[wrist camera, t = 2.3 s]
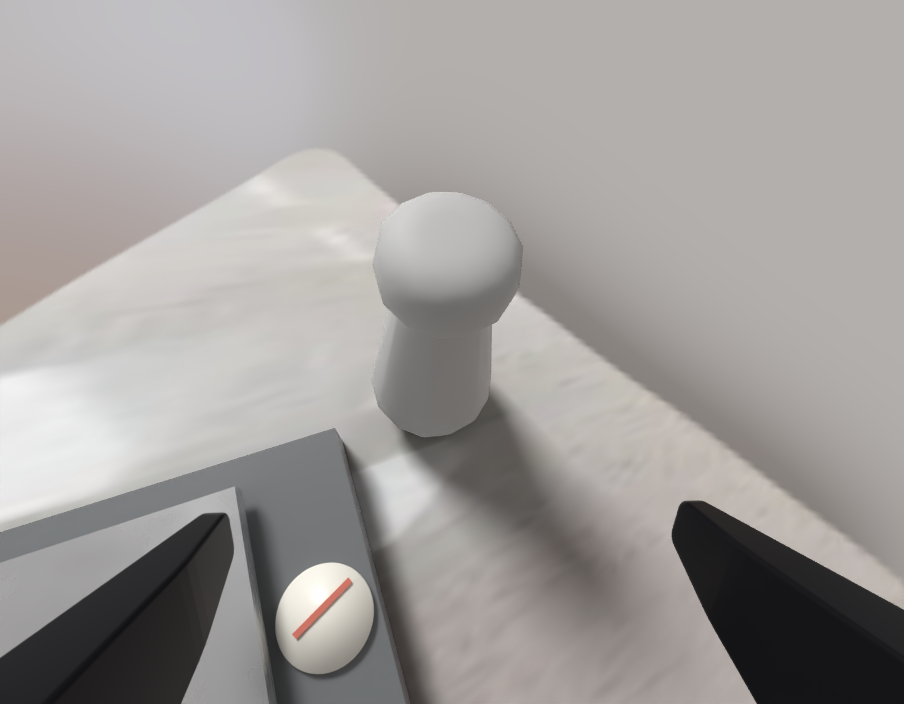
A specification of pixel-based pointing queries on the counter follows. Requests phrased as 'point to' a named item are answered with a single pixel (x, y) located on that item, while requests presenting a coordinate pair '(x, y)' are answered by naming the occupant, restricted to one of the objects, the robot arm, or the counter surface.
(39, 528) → the scale
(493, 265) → the salt shaker
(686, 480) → the counter surface
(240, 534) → the scale pan
